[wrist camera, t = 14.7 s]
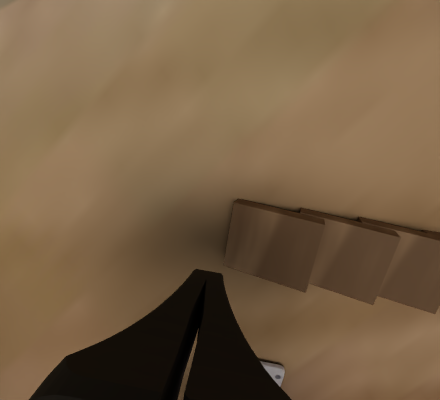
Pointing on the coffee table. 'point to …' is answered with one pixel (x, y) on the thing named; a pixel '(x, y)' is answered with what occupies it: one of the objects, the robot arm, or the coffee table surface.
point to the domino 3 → (412, 269)
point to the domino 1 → (273, 243)
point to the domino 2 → (352, 257)
